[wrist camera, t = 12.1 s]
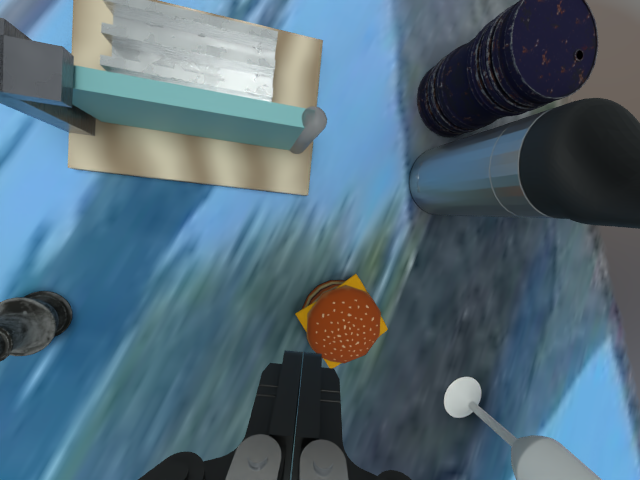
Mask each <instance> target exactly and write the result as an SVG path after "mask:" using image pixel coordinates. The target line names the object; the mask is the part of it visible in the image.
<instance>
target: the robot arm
mask: <svg viewBox="0 0 640 480" xmlns="http://www.w3.org/2000/svg"><path fill="white" fill-rule="evenodd" d="M409 185H410V191H411V194H412V197H413V199H414V201H415V202H416V204H417V205H418V206H419V207H420V208H421V209H422V210H424V211H425V212H427V213H430V214H434V215H455V216H490V217H531V218H561V219H571V220H573V221H576V222H579V223H584V224H590V225H601V226H617V227H628V228H640V123H639V122H638V120H637V119H636V118H635V117H634V116H633V115H632V114H631V113H630V112H629V111H628V110H627V109H625V108H624V107H622V106H621V105H619V104H618V103H615V102H613V101H611V100H607V99H601V98H589V99H583V100H579V101H574V102H571V103H568V104H565V105H562V106H559V107H556V108H553V109H550V110H547V111H544V112H541V113H538V114H535V115H532V116H529V117H526V118H523V119H520V120H517V121H514V122H511V123H508V124H505V125H502V126H499V127H496V128H493V129H490V130H487V131H484V132H481V133H478V134H475V135H472V136H469V137H466V138H463V139H460V140H457V141H454V142H451V143H448V144H445V145H442V146H439V147H436V148H433V149H430V150H428V151H426V152H424V153H423V154H422V155H421V156H420V157H419V158H418V159H417V160H416V162H415V163H414V165H413V167H412V170H411V173H410V182H409ZM302 353H303V352H296V351H285V352H284V358H283V363H282V364H276V363H270V364H269V365H268V366H267V367H266V369H265V370H264V371H263V372H262V375H261V379H260V383H259V387H258V390H257V395H256V398H255V402H254V405H253V409H252V413H251V417H250V421H249V424H248V428H247V432H246V435H245V437H244V439H243V441H242V442H241V444H240V445H239V446H238V447H237V448H236V449H235V450H234V451H232V452H231V453H229V454H227V455H225V456H223V457H220V458H216V459H212V460H208V461H204V462H203V461H202V459H201V458H200V457H199V456H198V455H197V454H195V453H192V452H180V453H176V454H174V455H172V456H170V457H168V458H167V459H165V460H164V461H162V462H161V463H160V464H158V465H157V466H156V467H154V468H153V469H152V470H150V471H149V472H148V473H146V474H145V475H144V476H142V477H141V478H140V479H138V480H290V472H291V462H292V453H293V444H294V434H295V425H296V416H297V406H298V397H299V387H300V376H301V365H302ZM321 363H322V354H319V353H308V352H304V358H303V368H302V377H301V387H300V397H299V406H298V416H297V426H296V435H295V447H294V458H293V469H292V480H411V479H410V478H409V477H408V476H406V475H405V474H403V473H401V472H398V471H394V470H388V471H384V472H382V473H381V474H379V475H378V476H376V475H374V474H372V473H369V472H367V471H365V470H363V469H361V468H359V467H358V466H356V465H355V464H354V463H353V462H352V461H351V460H350V459H349V458H348V456H347V454H346V452H345V450H344V447H343V442H342V422H341V404H340V381H339V378H338V376H337V374H336V372H335V370H334V369H333V368H322V367H321Z"/></svg>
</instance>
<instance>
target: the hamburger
mask: <svg viewBox="0 0 640 480" xmlns="http://www.w3.org/2000/svg"><path fill="white" fill-rule="evenodd" d="M295 315H296V316H297V318H298V319H299V321H300V323H301V324H302V326H303V327H304V329H305V331H306V332H307V340H308V342H309V344H310V346H311V348H312V349H313V350H314V351H315V352H316V353H319V354H322V358H323V359H324V360H325V362H326V363H327V365H328V366H329V368H334V367H336V366H337V365H339V364H341V363H346V362H349V361H351V360H354V359H356V358H359V357H361V356H364V355H366V354H367V352H368V351H369V349H370V348H371V347H372V345H373V344H374V343H375V341H376V340H377V338H378V337H379V336H380V335H382V334H383V333H384V332H385V331H387V330H388V329H387V327H386V324H385V322H384V321H383V319H382V317H381V312H380V310H379V308H378V307H377V305H376V304H375V302H374V301H373V299H372V298H371V296H370V295H369V293H368V292H367V291H366V289H365V287H364V286H363V284H362V282H361V281H360V279H359V278H358V276H357V275H356V274H355V275H353V276H352V277H351V278H349V279H348V280H347V281H344V280H330V281H328V282H325V283H323V284H321V285H318V286H317V287H316V288H315V289H314V290H313V291H312V292H311V293H310V294H309V295H308V297H307V299H306V301H305V303H304V306H303V308H302V310H300V311H299V312H297V313H295Z"/></svg>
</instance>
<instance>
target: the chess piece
mask: <svg viewBox="0 0 640 480" xmlns="http://www.w3.org/2000/svg"><path fill="white" fill-rule="evenodd" d="M71 320H72V309H71V306H70V305H69V303H68V302H67V300H66V299H64V298H63V297H62V296H60V295H58V294H56V293H53V292H49V291H39V292H34V293H31V294H29V295H27V296H25V297H24V298H12V299H7V300H5V301H2V302H0V361H2V360H4V359H5V358H6V357H8V356H9V355H13V356H26V355H31V354H34V353H36V352H38V351H40V350H42V349H44V348H45V347H46V346H47V345H48V344H49V343H50V342H51V341H52V339H53V338H54V337H55V336H57V335H59V334H61V333H62V332H64V331H65V330H66V329H67V328H68V326H69V325H70V323H71Z"/></svg>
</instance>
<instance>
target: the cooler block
mask: <svg viewBox="0 0 640 480" xmlns="http://www.w3.org/2000/svg"><path fill="white" fill-rule="evenodd" d="M103 2H104V3H105V4H106V6H107V7H108V9H109V10H110V12H111V13H112V14H113V25H112V24H107V23H103V22H102V24H101V33H102V34H103V35H104V37H105V38H106V39H107V40H108V41H109V43H110V44H111V45H112V57H111V56H106V55H101V54H100V65H101V66H102V67H103V68H104V69H105V70H106V71H108V72H113V73H119V74H124V75H129V76H135V77H140V78H145V79H151V80H156V81H162V82H167V83H172V84H178V85H183V86H188V87H194V88H199V89H204V90H210V91H215V92H220V93H226V94H231V95H236V96H242V97H247V98H253V99H258V100H263V101H269V102H272V97H273V88H272V86H273V76H274V71H275V61H276V60H275V51H276V45H277V37H278V31H274V30H270V29H266V28H261V27H257V26H253V25H249V24H245V23H241V22H236V21H232V20H228V19H224V18H220V17H216V16H211V15H207V14H203V13H199V12H195V11H190V10H186V9H182V8H178V7H174V6H170V5H165V4H161V3H157V2H153V1H149V0H103ZM73 68H74V56H73V55H72V54H71V53H69V52H68V51H67V50H66V49H65V48H64V47H62V46H57V45H51V44H46V43H41V42H36V41H32V40H31V39H30V38H28V37H27V36H26V35H24V34H23V33H22V32H21V31H19V30H18V29H17V28H15V27H14V26H13V25H12V24H10V23H9V22H8V21H6V20H5V19H3V18H0V103H1V104H4V105H6V106H8V107H11V108H13V109H15V110H18V111H20V112H22V113H25V114H27V115H29V116H32V117H34V118H36V119H39V120H41V121H43V122H46V123H48V124H50V125H53V126H55V127H57V128H60V129H62V130H64V131H67V132H69V133H77V134H84V135H91V136H95V125H96V118H95V117H93V116H91V115H90V114H88V113H86V112H85V111H83V110H81V109H80V108H78V107H76V106H75V105H73V104H72V97H73Z"/></svg>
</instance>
